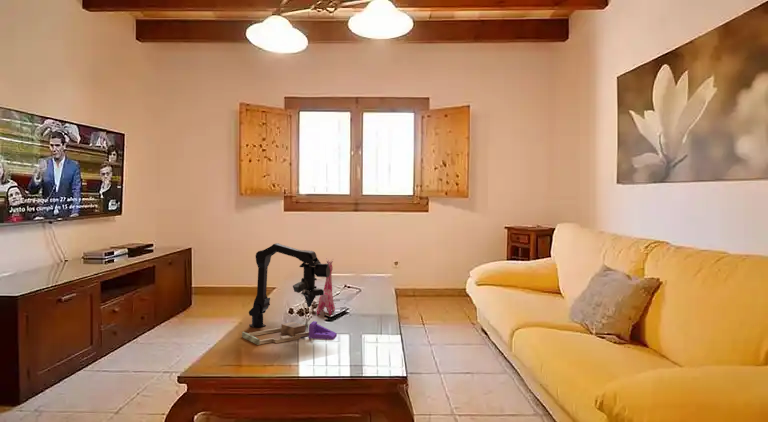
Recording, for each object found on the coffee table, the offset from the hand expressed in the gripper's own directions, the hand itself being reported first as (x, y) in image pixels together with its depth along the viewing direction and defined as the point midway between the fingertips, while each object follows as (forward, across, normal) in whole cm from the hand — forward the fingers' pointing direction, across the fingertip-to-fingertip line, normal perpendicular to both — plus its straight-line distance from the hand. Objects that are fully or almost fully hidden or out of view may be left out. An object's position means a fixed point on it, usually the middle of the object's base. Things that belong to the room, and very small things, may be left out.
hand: (309, 306), depth 293 cm
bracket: (+13, +14, -1) cm, 19 cm away
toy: (+12, -29, +30) cm, 43 cm away
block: (+12, 0, -9) cm, 15 cm away
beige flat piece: (+12, +1, -19) cm, 22 cm away
